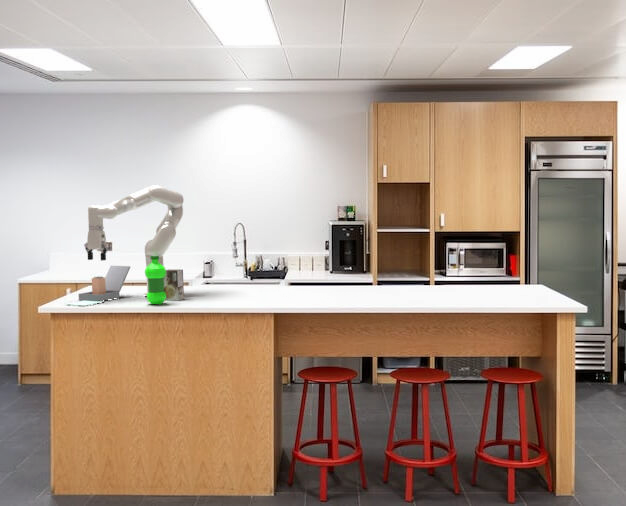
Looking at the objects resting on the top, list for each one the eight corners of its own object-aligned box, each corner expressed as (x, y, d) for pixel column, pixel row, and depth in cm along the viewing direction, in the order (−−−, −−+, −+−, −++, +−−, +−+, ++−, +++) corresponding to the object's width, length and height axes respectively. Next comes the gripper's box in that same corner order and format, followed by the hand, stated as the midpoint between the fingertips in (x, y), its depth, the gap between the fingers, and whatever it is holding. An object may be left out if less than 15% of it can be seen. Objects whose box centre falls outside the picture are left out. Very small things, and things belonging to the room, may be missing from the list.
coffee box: (184, 299, 388) (183, 269, 387) (178, 300, 382) (177, 270, 381) (169, 298, 391) (168, 269, 390) (163, 300, 385) (162, 270, 384)
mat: (104, 302, 380) (104, 301, 380) (84, 306, 368) (84, 305, 368) (85, 301, 387) (85, 300, 387) (65, 305, 375) (65, 303, 375)
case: (131, 296, 403) (130, 266, 402) (98, 302, 381) (96, 270, 380) (111, 295, 411) (110, 265, 409) (77, 301, 389) (76, 269, 388)
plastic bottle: (167, 304, 368) (166, 256, 366) (146, 306, 365) (144, 257, 363) (166, 302, 378) (164, 254, 376) (145, 303, 375) (143, 255, 373)
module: (106, 299, 393) (105, 276, 392) (99, 300, 388) (98, 277, 387) (99, 299, 395) (98, 276, 394) (92, 300, 391) (91, 277, 390)
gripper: (112, 228, 388) (113, 260, 389) (89, 228, 396) (90, 258, 397) (102, 229, 381) (103, 261, 382) (79, 228, 390) (80, 260, 391)
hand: (96, 260), depth 390 cm, fingers open, 9 cm apart
